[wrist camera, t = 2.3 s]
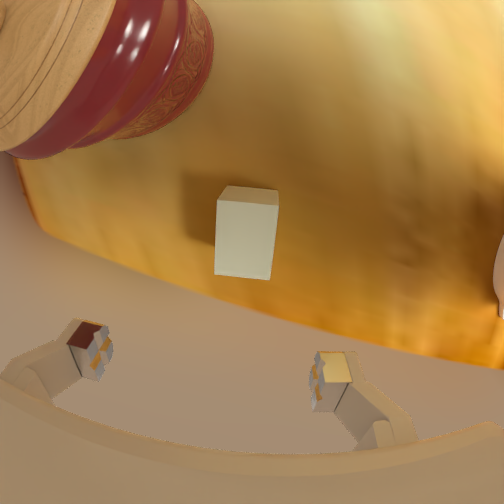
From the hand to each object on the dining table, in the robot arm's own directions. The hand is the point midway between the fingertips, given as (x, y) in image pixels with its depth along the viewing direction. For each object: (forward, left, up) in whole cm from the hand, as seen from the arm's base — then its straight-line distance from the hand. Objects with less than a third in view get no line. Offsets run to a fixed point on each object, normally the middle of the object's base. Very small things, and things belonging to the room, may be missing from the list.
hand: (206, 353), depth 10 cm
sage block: (-1, 0, -15) cm, 15 cm away
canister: (+9, -13, -15) cm, 22 cm away
